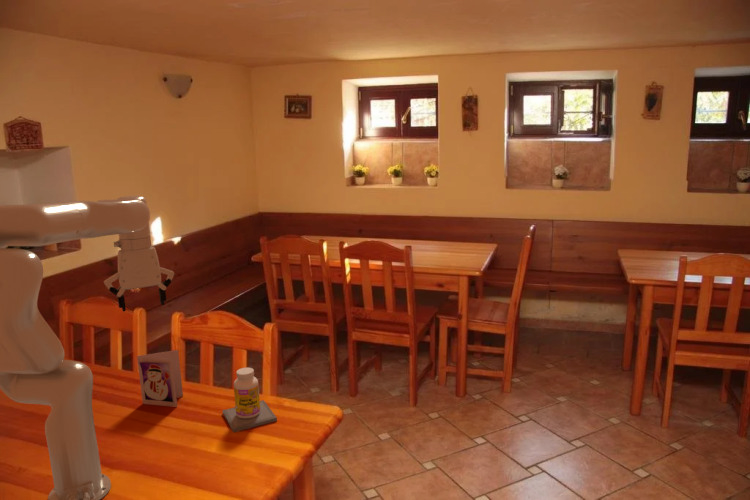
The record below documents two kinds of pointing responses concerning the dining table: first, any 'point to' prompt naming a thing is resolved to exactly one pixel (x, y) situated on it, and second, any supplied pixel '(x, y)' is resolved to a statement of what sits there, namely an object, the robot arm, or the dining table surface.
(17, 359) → the robot arm
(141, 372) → the greeting card
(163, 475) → the dining table surface
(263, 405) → the slate trivet
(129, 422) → the dining table surface
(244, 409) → the supplement bottle
